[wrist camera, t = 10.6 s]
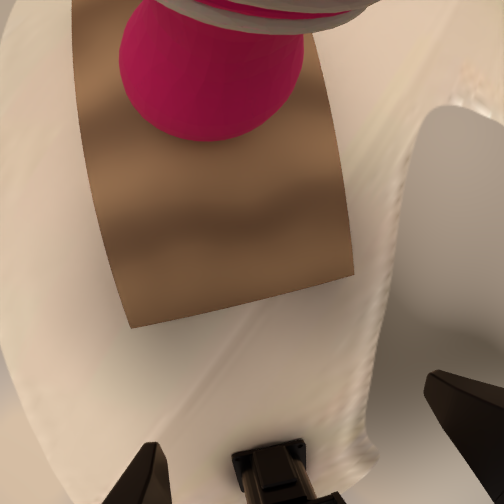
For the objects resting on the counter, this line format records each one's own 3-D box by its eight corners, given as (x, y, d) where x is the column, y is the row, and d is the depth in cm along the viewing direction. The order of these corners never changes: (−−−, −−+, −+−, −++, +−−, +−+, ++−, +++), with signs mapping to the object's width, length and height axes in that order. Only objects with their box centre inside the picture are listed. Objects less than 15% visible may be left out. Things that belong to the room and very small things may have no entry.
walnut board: (337, 264, 22) (354, 274, 19) (137, 312, 20) (130, 328, 18) (278, -27, 16) (287, -45, 14) (82, 6, 14) (72, -10, 12)
